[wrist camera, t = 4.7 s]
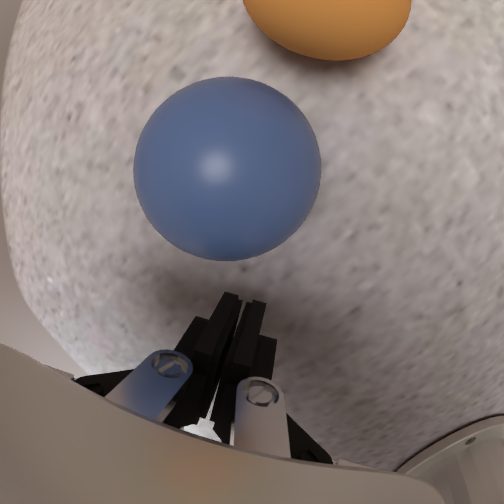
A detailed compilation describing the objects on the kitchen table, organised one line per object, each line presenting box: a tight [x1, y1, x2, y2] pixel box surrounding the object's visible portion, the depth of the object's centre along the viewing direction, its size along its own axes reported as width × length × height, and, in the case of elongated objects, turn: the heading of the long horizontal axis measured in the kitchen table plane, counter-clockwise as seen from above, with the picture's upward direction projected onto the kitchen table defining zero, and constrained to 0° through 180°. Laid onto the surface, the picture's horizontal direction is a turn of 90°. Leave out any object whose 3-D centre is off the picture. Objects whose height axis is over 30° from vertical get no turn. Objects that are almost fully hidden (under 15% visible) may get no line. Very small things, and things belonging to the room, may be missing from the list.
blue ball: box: [133, 77, 321, 261], centre depth 9 cm, size 6×6×6 cm
